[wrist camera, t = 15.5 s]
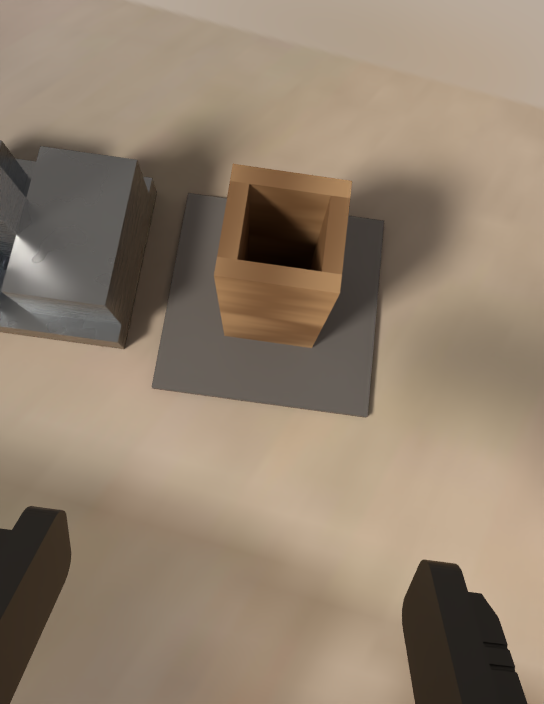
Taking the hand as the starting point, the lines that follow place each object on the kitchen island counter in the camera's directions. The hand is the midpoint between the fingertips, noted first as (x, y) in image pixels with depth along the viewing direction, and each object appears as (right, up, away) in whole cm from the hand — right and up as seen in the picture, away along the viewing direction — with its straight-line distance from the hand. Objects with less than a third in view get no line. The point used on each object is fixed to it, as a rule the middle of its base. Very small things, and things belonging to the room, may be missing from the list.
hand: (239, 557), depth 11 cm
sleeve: (+1, +8, +18) cm, 19 cm away
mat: (+1, +8, +18) cm, 20 cm away
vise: (-15, +11, +18) cm, 26 cm away
